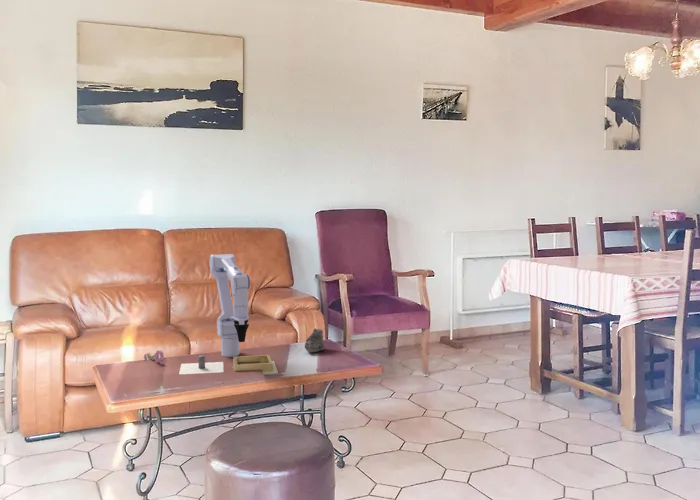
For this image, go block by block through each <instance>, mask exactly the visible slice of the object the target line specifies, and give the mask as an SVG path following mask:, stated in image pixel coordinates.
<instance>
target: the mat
mask: <svg viewBox="0 0 700 500" xmlns="http://www.w3.org/2000/svg"><path fill="white" fill-rule="evenodd" d="M272 363H273V371H269V372H262V371H261V372H262V376H266V375H278V374H279V371H278V369H277V365H276V363H275V360H272Z"/></svg>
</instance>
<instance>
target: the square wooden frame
mask: <svg viewBox="0 0 700 500" xmlns="http://www.w3.org/2000/svg"><path fill="white" fill-rule="evenodd" d="M232 361H233V362H232V363H233V371H234V372H241V371H242V372H244V371H260V370H261V372H269V371H273V363H272V361H273V360H272V358H271V356H270V354H261V355H258V354H256V355H241V356H239V355H238V356H233V358H232ZM252 362H253V363H252ZM254 362H255V363H254ZM256 362H258V363H256ZM239 363H241V364H239Z"/></svg>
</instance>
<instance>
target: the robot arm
mask: <svg viewBox="0 0 700 500" xmlns="http://www.w3.org/2000/svg"><path fill="white" fill-rule="evenodd" d="M208 263H209V270H210V273H211V274H210V275H211V276H212V277H213V278H214V279H215V281H216V285H217V292H218V299H219V303H220V308H221V315H219V316H218V318H217V319H216V334H217V335H218V337H220V338H221V340H220V341H221V344H220V345H221V346H220V347H221V356H222V357H226V358H227V357H228V358H231V357H235V356H239V355H240V343H245V342H246V336H247V335H246V334H247V332H248V328H249V326H250V324H249V323H248V322H249V319H250V316H249V289H250V287H251V278H250V276H249V275H250V274H248V273H245V274H244V273H243V271H242V270H241V268H240V267H239V266H237V265H236V258H235V255H234V254H233V253H228V254H227V253H226V254H224V253H223V254H210V256H209V262H208ZM229 281H230V284H229ZM229 285H231V290H230V286H229ZM231 293H232V295H231ZM232 299H233V301H232Z"/></svg>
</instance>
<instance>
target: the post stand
mask: <svg viewBox="0 0 700 500" xmlns="http://www.w3.org/2000/svg"><path fill="white" fill-rule="evenodd" d="M197 358H198V362H195V363H193V362H192V363H181V364H180V369H179V373H178V375H195V374H201V375H202V374H217V373H218V374H219V373H224V361H217V362H215V361H214V362H206V356H205V355H198V357H197Z"/></svg>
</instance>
